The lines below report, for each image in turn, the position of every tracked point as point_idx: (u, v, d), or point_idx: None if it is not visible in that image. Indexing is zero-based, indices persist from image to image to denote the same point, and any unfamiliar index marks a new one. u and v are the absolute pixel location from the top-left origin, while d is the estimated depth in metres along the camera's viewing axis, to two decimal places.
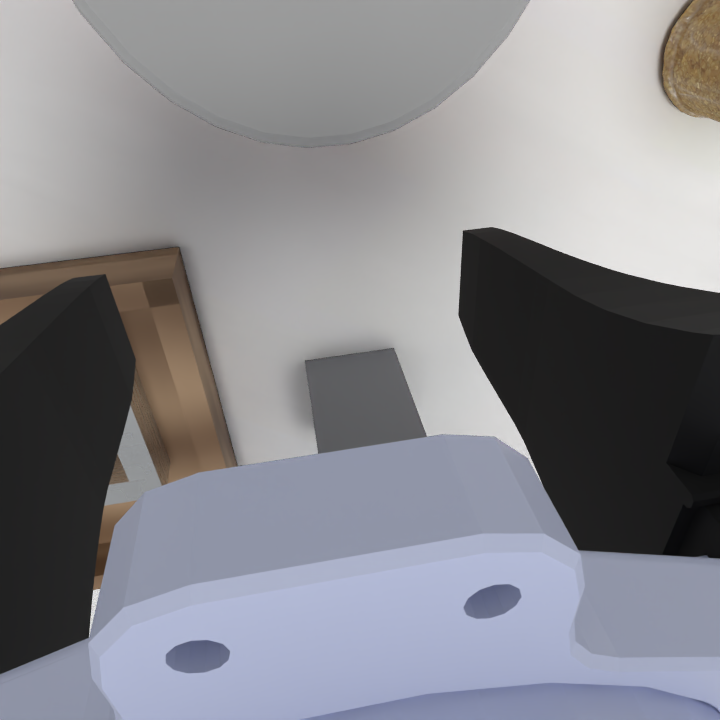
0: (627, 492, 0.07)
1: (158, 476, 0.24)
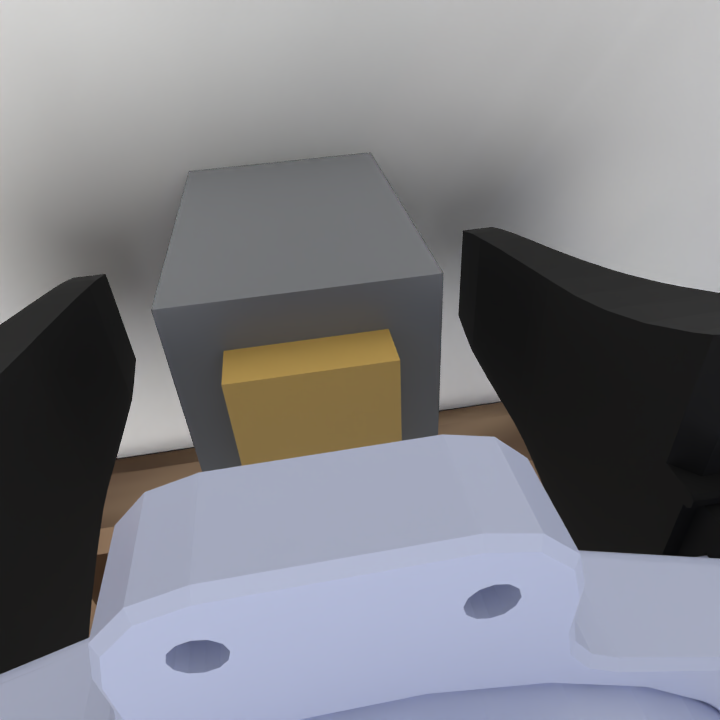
0: (627, 492, 0.07)
1: None
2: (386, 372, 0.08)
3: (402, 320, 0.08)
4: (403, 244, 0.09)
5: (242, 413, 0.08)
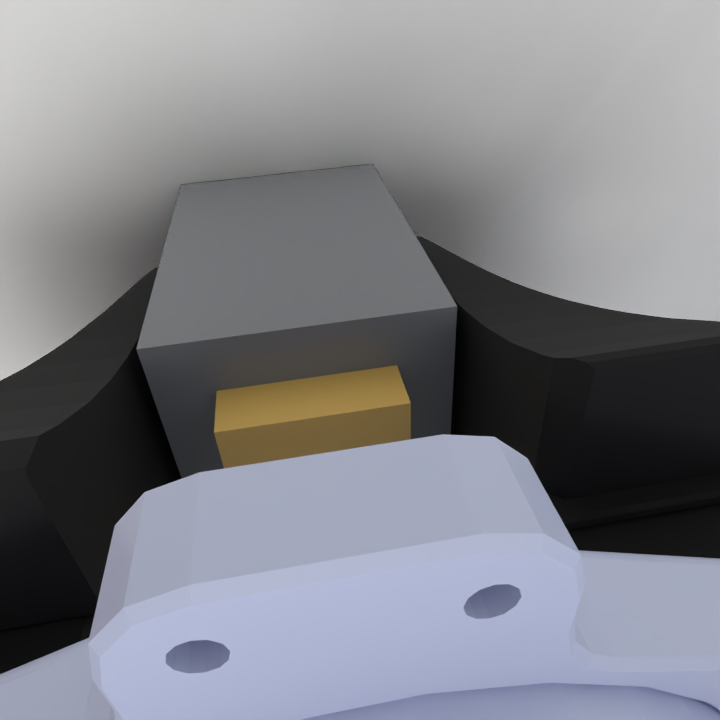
0: None
1: None
2: (395, 416, 0.07)
3: (411, 356, 0.08)
4: (412, 271, 0.08)
5: (237, 462, 0.07)
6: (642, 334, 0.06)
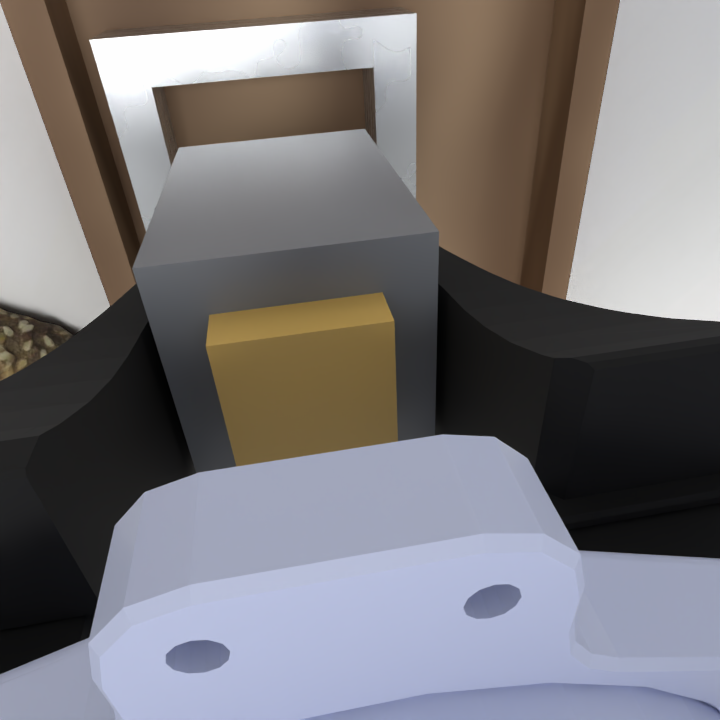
0: None
1: (371, 16, 0.15)
2: (380, 333, 0.07)
3: (396, 283, 0.08)
4: (397, 207, 0.08)
5: (228, 379, 0.07)
6: (642, 334, 0.06)
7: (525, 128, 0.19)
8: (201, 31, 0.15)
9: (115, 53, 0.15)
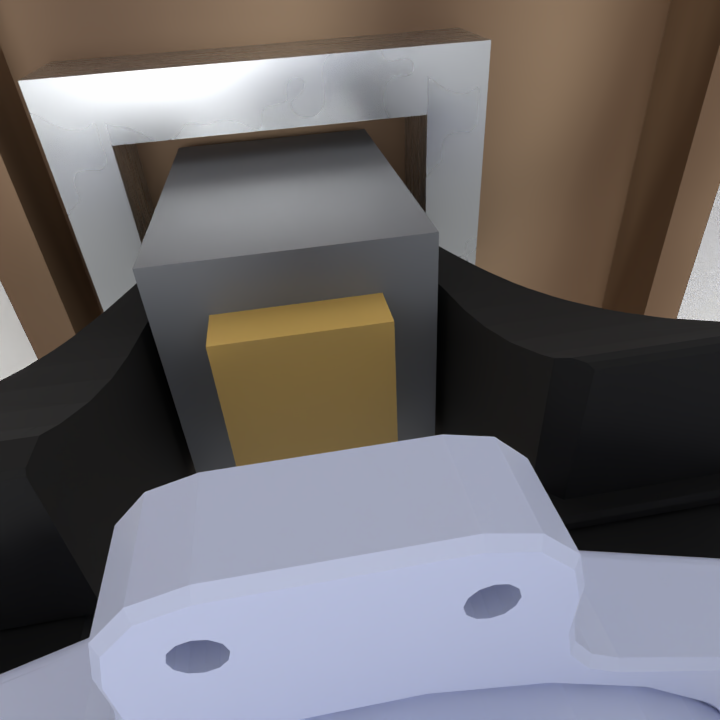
0: None
1: (427, 45, 0.10)
2: (379, 334, 0.07)
3: (397, 283, 0.08)
4: (397, 207, 0.08)
5: (228, 379, 0.07)
6: (642, 334, 0.06)
7: (612, 182, 0.15)
8: (182, 67, 0.10)
9: (57, 100, 0.10)
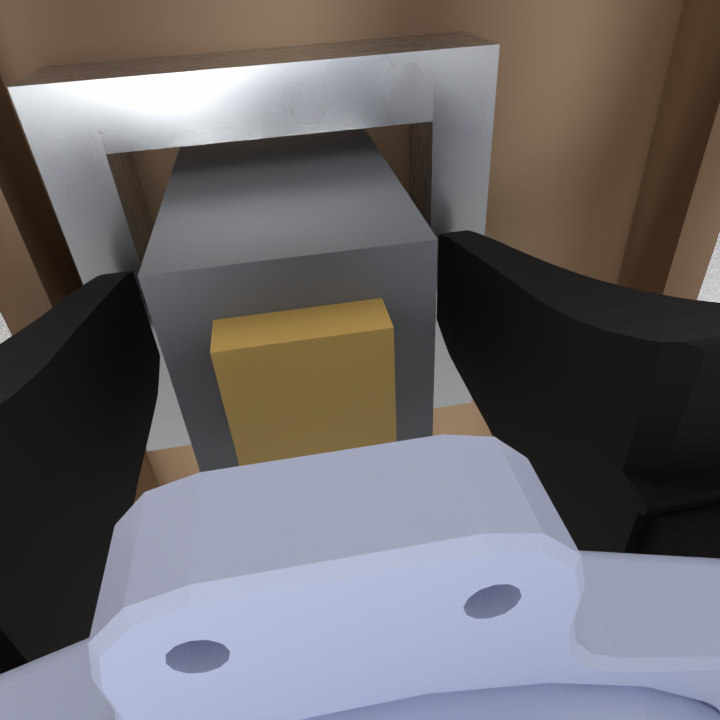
0: (588, 499, 0.07)
1: (433, 50, 0.10)
2: (379, 340, 0.08)
3: (395, 289, 0.08)
4: (397, 213, 0.09)
5: (233, 383, 0.08)
6: None
7: (621, 189, 0.14)
8: (179, 73, 0.10)
9: (49, 106, 0.10)
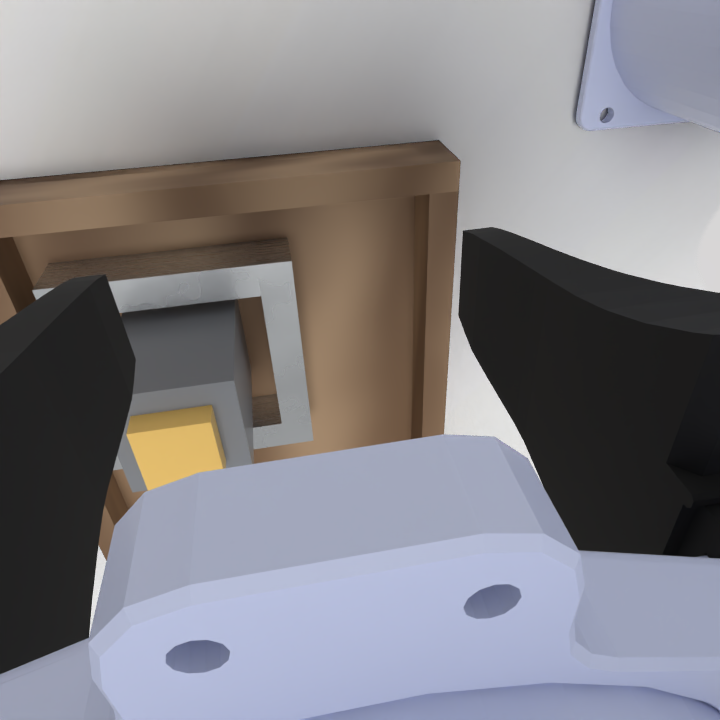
0: (627, 492, 0.07)
1: (255, 264, 0.19)
2: (205, 427, 0.17)
3: (217, 401, 0.17)
4: (223, 361, 0.18)
5: (137, 446, 0.17)
6: None
7: (401, 312, 0.24)
8: (120, 280, 0.19)
9: None
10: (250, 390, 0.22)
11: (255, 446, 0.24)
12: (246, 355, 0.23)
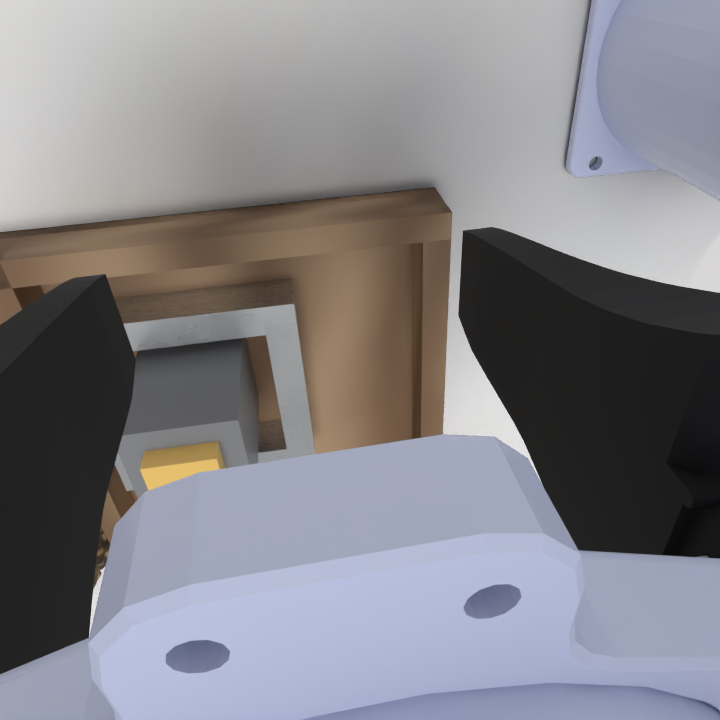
0: (627, 492, 0.07)
1: (260, 307, 0.21)
2: (211, 463, 0.18)
3: (223, 438, 0.19)
4: (229, 400, 0.19)
5: (150, 480, 0.18)
6: None
7: (400, 344, 0.25)
8: (136, 322, 0.20)
9: None
10: (256, 419, 0.24)
11: None
12: (253, 385, 0.24)
